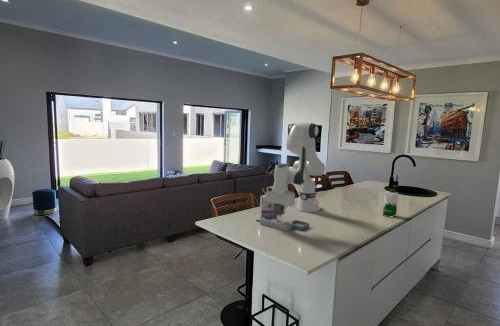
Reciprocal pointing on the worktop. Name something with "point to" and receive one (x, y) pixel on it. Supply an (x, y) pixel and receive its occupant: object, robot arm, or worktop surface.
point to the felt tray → (299, 225)
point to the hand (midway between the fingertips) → (279, 210)
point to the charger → (278, 209)
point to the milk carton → (390, 203)
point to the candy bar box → (266, 208)
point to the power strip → (275, 223)
